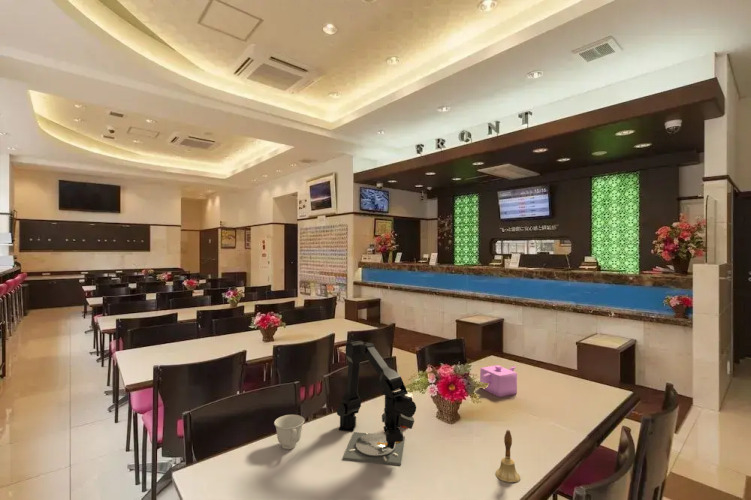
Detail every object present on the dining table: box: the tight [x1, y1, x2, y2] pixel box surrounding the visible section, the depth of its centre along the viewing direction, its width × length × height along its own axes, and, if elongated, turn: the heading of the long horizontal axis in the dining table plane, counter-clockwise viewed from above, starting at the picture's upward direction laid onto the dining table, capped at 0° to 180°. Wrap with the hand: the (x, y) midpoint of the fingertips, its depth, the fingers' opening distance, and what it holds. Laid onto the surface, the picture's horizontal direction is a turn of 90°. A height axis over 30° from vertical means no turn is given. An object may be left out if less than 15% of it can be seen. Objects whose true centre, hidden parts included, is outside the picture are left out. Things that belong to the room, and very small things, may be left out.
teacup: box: [273, 414, 305, 450], centre depth 151 cm, size 12×15×10 cm
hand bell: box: [495, 429, 521, 483], centre depth 133 cm, size 8×8×16 cm
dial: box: [356, 432, 396, 457], centre depth 151 cm, size 16×16×4 cm
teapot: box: [479, 364, 518, 398], centre depth 214 cm, size 15×25×14 cm, turn 116°
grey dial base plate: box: [342, 431, 406, 466], centre depth 151 cm, size 22×20×2 cm
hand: (391, 448), depth 145 cm, fingers closed
